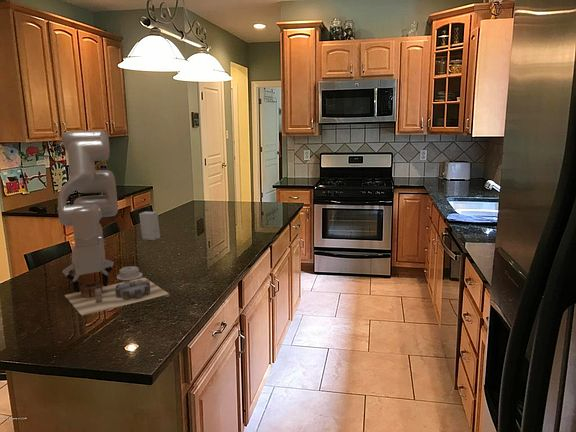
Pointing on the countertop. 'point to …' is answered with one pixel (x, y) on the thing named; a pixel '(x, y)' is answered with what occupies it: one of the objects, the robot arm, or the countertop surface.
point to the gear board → (116, 296)
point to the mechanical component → (129, 273)
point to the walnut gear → (90, 289)
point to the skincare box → (149, 225)
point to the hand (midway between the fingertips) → (91, 288)
